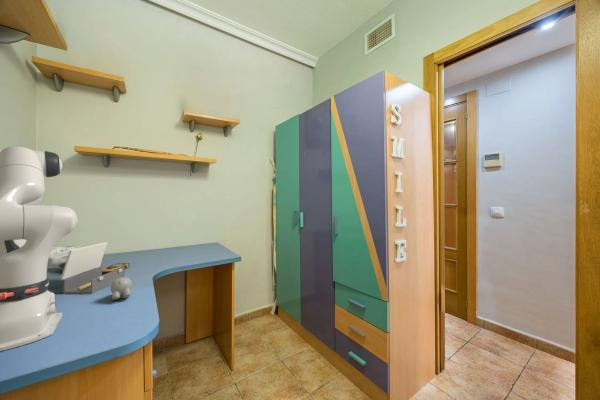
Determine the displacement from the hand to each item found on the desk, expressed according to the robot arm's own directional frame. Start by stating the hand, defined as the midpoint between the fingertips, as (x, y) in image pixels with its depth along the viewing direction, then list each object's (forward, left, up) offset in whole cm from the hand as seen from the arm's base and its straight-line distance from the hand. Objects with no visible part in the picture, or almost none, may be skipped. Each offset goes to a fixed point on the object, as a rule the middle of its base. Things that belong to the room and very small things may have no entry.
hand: (85, 256), depth 111 cm
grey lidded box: (-4, -4, -14) cm, 15 cm away
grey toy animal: (-28, -9, -14) cm, 33 cm away
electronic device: (+19, -14, -14) cm, 27 cm away
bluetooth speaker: (+33, 0, -14) cm, 36 cm away
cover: (0, -1, -1) cm, 2 cm away
